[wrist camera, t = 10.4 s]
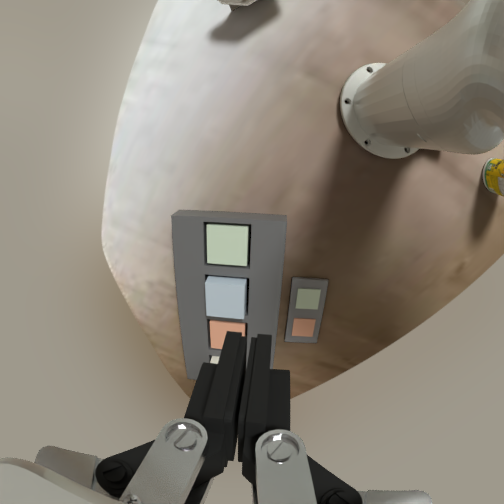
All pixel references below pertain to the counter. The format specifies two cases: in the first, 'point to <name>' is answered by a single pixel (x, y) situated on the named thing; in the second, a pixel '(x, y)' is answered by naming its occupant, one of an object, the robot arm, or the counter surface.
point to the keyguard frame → (197, 271)
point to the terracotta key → (224, 331)
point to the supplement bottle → (494, 176)
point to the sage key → (228, 243)
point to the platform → (236, 3)
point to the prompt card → (305, 309)
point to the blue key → (226, 296)
